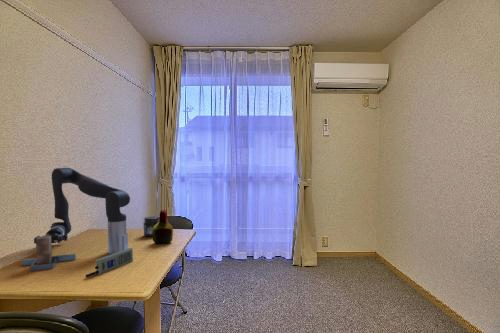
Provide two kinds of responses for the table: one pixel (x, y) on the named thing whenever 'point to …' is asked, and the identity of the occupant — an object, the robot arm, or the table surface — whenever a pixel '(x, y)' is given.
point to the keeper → (50, 265)
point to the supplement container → (149, 225)
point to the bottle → (162, 230)
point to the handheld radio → (112, 261)
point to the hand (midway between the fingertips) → (48, 241)
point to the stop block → (43, 250)
